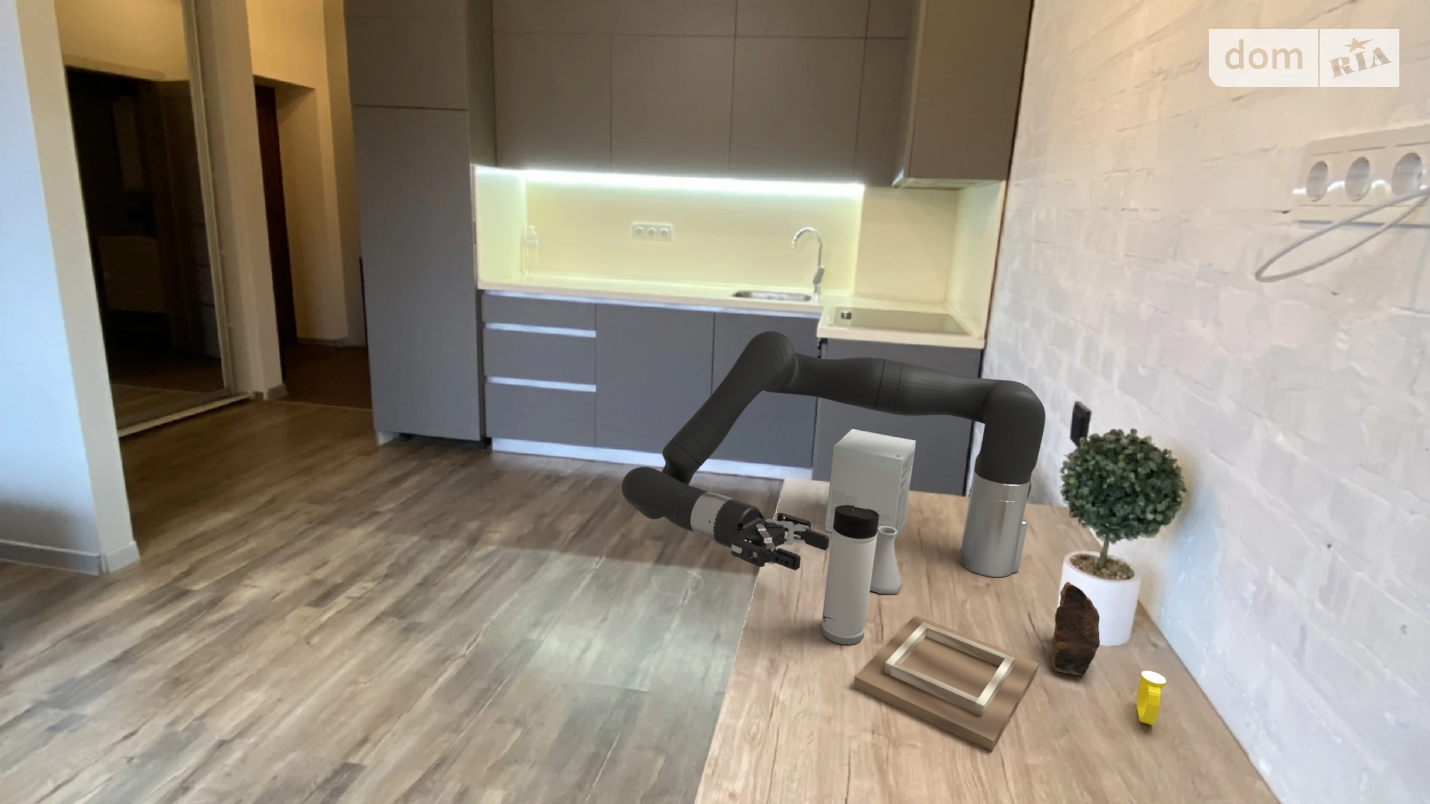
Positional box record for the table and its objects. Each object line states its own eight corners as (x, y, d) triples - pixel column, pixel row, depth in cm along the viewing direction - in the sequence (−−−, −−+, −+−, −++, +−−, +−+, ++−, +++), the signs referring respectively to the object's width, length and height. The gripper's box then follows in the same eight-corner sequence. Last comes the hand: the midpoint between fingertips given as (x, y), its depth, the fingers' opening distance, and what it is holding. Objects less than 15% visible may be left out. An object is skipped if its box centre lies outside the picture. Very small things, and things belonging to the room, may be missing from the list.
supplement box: (906, 522, 149) (918, 440, 144) (891, 548, 138) (904, 459, 133) (842, 507, 154) (851, 427, 150) (823, 531, 143) (832, 445, 138)
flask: (903, 598, 120) (911, 542, 118) (857, 591, 122) (864, 536, 119) (901, 577, 127) (909, 523, 124) (858, 571, 128) (865, 517, 126)
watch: (1128, 702, 99) (1137, 661, 97) (1152, 708, 98) (1161, 667, 96) (1135, 727, 93) (1144, 684, 92) (1160, 734, 92) (1170, 691, 91)
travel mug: (815, 639, 108) (829, 511, 102) (826, 617, 113) (840, 495, 108) (858, 651, 105) (875, 521, 100) (867, 628, 111) (883, 504, 106)
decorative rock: (1050, 630, 114) (1063, 567, 111) (1094, 643, 111) (1109, 578, 108) (1043, 672, 103) (1058, 603, 101) (1092, 687, 101) (1108, 616, 98)
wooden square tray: (913, 623, 113) (916, 606, 112) (1036, 672, 103) (1040, 654, 102) (853, 686, 98) (856, 666, 97) (991, 751, 87) (995, 730, 87)
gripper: (699, 512, 113) (791, 546, 103) (752, 487, 124) (839, 515, 114) (697, 557, 115) (786, 594, 105) (749, 528, 126) (834, 559, 116)
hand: (814, 553), depth 110 cm, fingers open, 8 cm apart
